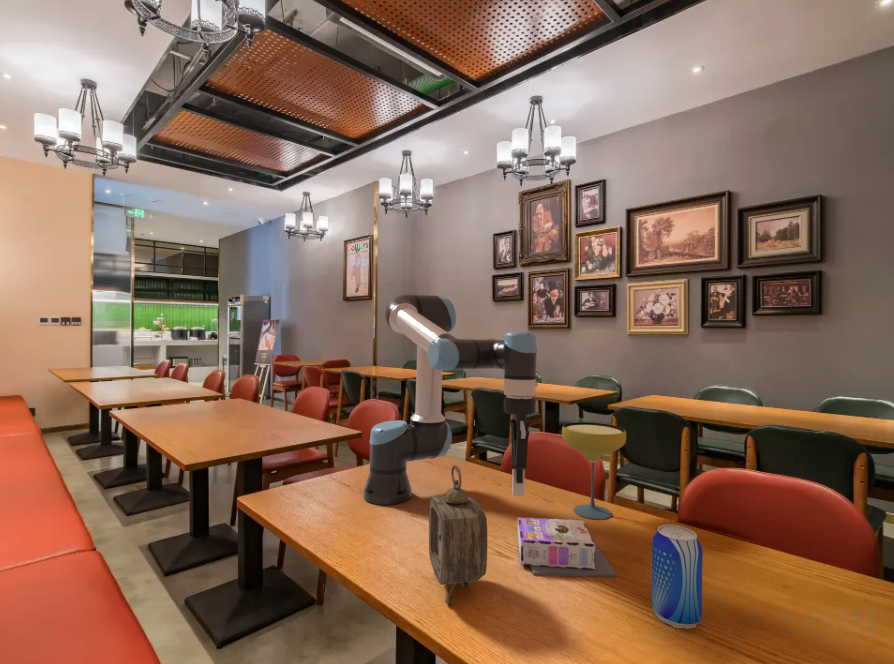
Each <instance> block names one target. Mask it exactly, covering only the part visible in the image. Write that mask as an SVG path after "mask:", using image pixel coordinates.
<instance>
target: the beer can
mask: <svg viewBox="0 0 894 664" xmlns="http://www.w3.org/2000/svg"><path fill="white" fill-rule="evenodd" d="M703 551H704V549H703V546H702V544H701V543H700V541H699V540H698V534H697V533H696V531H694V530H692V529H691V528H688V527H686V526H682V525H678V524H662V525H659V526H658V527H657V531H656V532H655V534H654V536H653V537H652V541H651V597H650V598H651V601H650V602H651V603H650V604H651V608H652V610H653V612H654V613H655V616H656V617H657V618H658V619H659V620H660V621H661V622H662V621H663V622H662V623H664V622H665V623H667V624H669V625H672V626H675V627H679V628H691V627H694V626H695V627H696V626H697V625H698V624H699V623H700V622H701V621H702V618H703V565H704V564H703V562H704V561H703V559H704V558H703V554H704V553H703ZM665 623H664V624H665ZM667 624H666V625H667ZM669 625H668V626H669ZM672 626H671V627H672ZM675 627H674V628H675ZM695 627H694V628H695ZM679 628H678V629H679Z"/></svg>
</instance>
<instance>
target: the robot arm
mask: <svg viewBox="0 0 894 664" xmlns="http://www.w3.org/2000/svg"><path fill="white" fill-rule="evenodd" d="M384 319H385V322H386V324H387V325H388V327H389V328H390V329H391V331H392V330H393V331H394V332H396V333H397V334H400V335H404V336H406V338H408V339H409V340H410V341H411V342H412V343H414V344H415V345H416V346H417V347H416V348H417V350H416V352H417V353H416V374H415V375H416V376H415V377H416V379H415V380H416V383H415V404H414V405H415V407H414V409H415V410H414V413H413V415H411V417H410V419H409V422H410V423H409V424H408V423H407V421H405V420H388V421H387V420H386V421H383V422H380V423H377V424H375V425H374V426H372V428H371V430H370V437H369V473H368V476H367V479H366V483H365V486H364V489H363V500H364V501H366V502H368V503H370V504H373V505H382V506H389V505H390V506H391V505H398V504H402V503H406V502H408V501H409V500H410V499H411V498H412V495H413V494H412V492H413V491H412V486H411V483H410V479H409V476H408V473H407V463H408V462H413V461H421V460H429V459H430V460H431V459H436V458H441V457H444V456H445V455H446V454H447V453H448V451H449V450H450V447H451V445H452V440H453V436H452V435H453V434H452V430H451V426H450V424H449V423H448V422H447V421H446V417H445V416H444V415H443V414H442V397H443V396H442V393H443V392H442V390H443V371H445V372H447V371H449V372H450V371H458V370H459V371H461V370H490V369H491V370H492V369H493V370H504V375H503V376H504V377H503V395H505V397H504V398H503V411H504V413H506V414H509V415H512V419H510V420H509V425H510V437H511V438H510V442H511V444H510V445H511V447H510V448H511V449H510V450H511V465H510V468H511V470H512V474H511V475H512V477H511V478H512V482H511V484H512V485H511V488H512V489H511V490H512V491H511V494H512V496H513V497H525V489H526V487H525V486H526V485H525V480H526V479H525V478H526V470H527V468H528V467H527V466H528V463H527V462H528V449H529V448H528V447H529V437H530V430H529V427H530V423H529V421H528V420H527V416H528V415H530V416H531V415H534V414H535V413H536V408H537V407H536V401H537V400H536V398H535V397H534V396H536V391H537V390H536V388H537V387H538V386H539V383H538V382H536V381H537V380H536V379H537V352H538V348H537V336H536V335H535V333H534V332H525V331H524V332H522V331H521V332H518V331H517V332H516V331H513V332H512V331H509V332H506V333H505V335H504V339H494V338H484V339H478V338H477V339H475V338H474V339H469V338H468V339H467V338H466V339H465V338H457V337H456V336H454V335H452V334H450V333H449V332H451V331H453V330H454V329H455V326H456V322H457V313H456V308H455V305H454V304H453V303H452V300H451V299H450V298H448V297H446V296H441V295H439V296H438V295H429V294H428V295H427V294H426V295H425V294H410V293H406V294H400V295H397V296H396V297H394V298H392V299H391V300H390V301H389V302H388V303H387V306H386V307H385V310H384Z"/></svg>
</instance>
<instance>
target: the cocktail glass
mask: <svg viewBox="0 0 894 664" xmlns="http://www.w3.org/2000/svg"><path fill="white" fill-rule="evenodd" d="M561 436H562V439H563V440H564V442H565V443H566V444H567V445H568V446H570V447H572V448H573V449H575V450H576V451H578V452H579V453H581V454H583V455H584V456H585V457H586V459H587V460H588V461H589V462H590V463H591V490H590V491H591V492H590V493H591V494H590V503H589V504H580V505H576V506H574V507H575V508H574V507H573V512H574V513H575V514H576V513H577V514H578V515H577V514H576V515H577V516H579V515H580V516H579V517H581V516H583V517H582V518H584V517H585V518H584V519H588V518H590V519H589V520H594V519H603V520H607V518H608V519H610V518H612V514H611V513H612V512H611V511H610V510H609V509H608V508H606V507H603V506H599V505H596V503H595V463H597V462H598V461H599V460H600V458H602V456H605V455H608V454H610V453H614V452H615V451H618V450H620V449H621V448H622V447H624V445H626V441H627V431H626V430H625V429H624V428H622V427H621V426H617V425H614V424H607V423H601V422H587V421H580V422H579V421H577V422H569V423H565V424H563V426H562V429H561ZM609 517H610V518H609Z"/></svg>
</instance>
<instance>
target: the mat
mask: <svg viewBox="0 0 894 664" xmlns="http://www.w3.org/2000/svg"><path fill="white" fill-rule="evenodd" d="M593 543H594V544H595V570H594V569H579V568H563V567H548V566H529V567H530V569H531V572H532V575H533V576H552V577H553V576H557V577H559V576H560V577H562V576H563V577H603V578H604V577H607V578H610V577H611V578H612V577H614V578H615V577H616V578H617V573H616V571H615V570H614V568H613V567H612V566H611V564H610V563H609V561H608V559H607V558H606V557H605V556H604V554H603V552H601V549H600V548H599V547H598V546H597V544H596V542H595V541H594V540H593Z"/></svg>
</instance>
